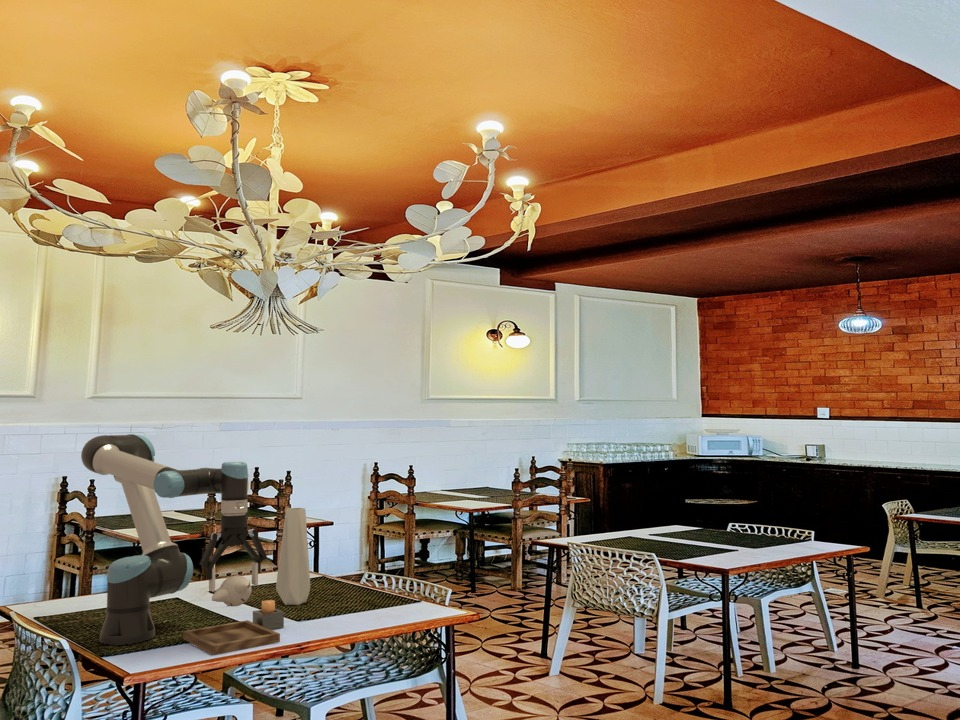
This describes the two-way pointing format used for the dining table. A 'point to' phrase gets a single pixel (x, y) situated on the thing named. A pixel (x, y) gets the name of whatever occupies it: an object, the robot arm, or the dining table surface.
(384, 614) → the dining table surface
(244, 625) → the tray
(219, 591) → the toy
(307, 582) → the vase
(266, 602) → the orange block
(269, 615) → the housing
